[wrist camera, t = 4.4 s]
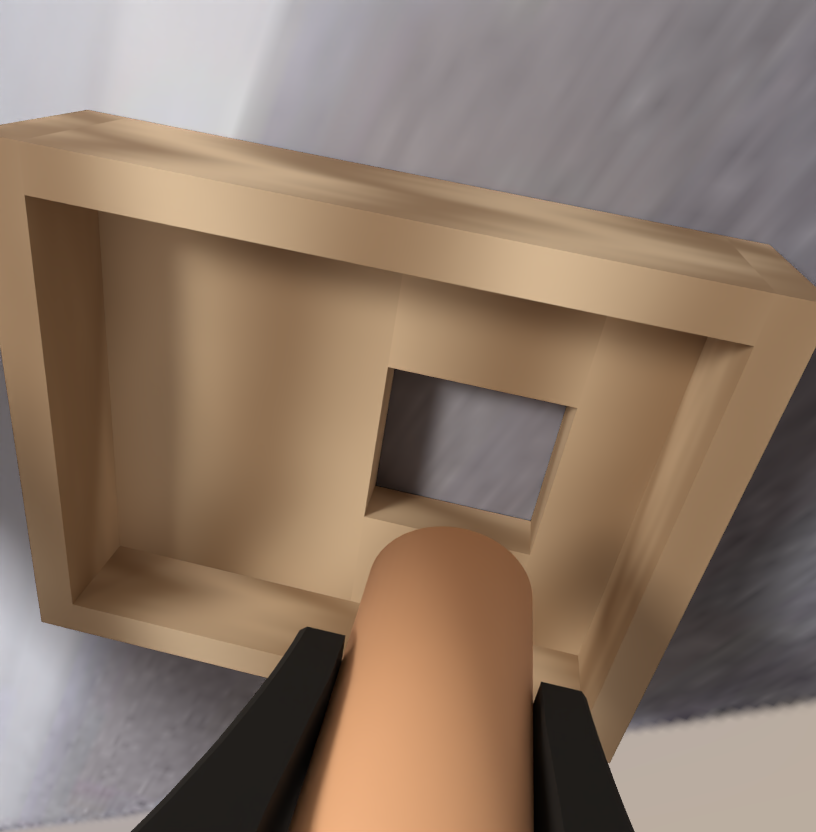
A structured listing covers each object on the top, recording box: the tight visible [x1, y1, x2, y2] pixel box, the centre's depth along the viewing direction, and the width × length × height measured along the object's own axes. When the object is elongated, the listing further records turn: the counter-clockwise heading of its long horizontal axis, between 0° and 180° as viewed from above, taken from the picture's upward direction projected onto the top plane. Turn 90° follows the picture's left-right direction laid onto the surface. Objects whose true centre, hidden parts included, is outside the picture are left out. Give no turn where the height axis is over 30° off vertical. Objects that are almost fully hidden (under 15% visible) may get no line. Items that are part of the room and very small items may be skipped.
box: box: [0, 110, 816, 763], centre depth 17 cm, size 16×13×4 cm
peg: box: [288, 526, 534, 832], centre depth 9 cm, size 3×3×8 cm
